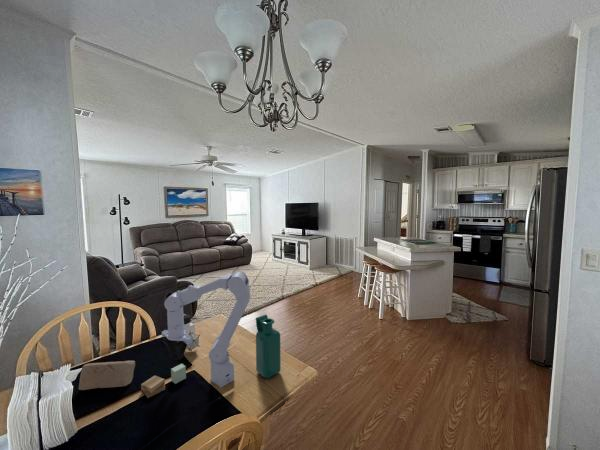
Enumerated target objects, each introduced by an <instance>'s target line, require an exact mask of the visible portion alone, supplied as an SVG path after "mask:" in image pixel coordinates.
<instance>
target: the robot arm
mask: <svg viewBox="0 0 600 450" xmlns="http://www.w3.org/2000/svg"><path fill="white" fill-rule="evenodd" d="M219 289H222V290H224V291H227V290H229V291H230V293H231V294H232V295H233V296H235V299H236V302H235V304H234V306H233V308H232V310H231V312H230V315H229V317H228V318H227V320H226V322H225V324H224V327H223V328H222V330H221V332H220V334H219V336H218V337H216V338H215V340H214V342H213V345H212V347H211V349H210V351H209V352H208V358H209V360H210V381H211V382H212V383H213V384H216V385H217V386H218V387H219V388H222V387H225V386H227V385H228V384H229V383H231V382H233V381H235V365H234V363H232V361H231V359H230V353H229V351H228V349H229V347H230V344H231V343H230V342H231V340H232V337H233V336H234V333H235V331H236V330H237V328H238V325H239V323H240V321H241V320H242V317H243V315H244V313H245V311H246V309H247V307H248V305H249V302H250V300H251V292H250V291H251V290H250V283H249V278H248V276H247V275H246V273H245V272H244V271H243V270H242V271H241V270H236V271H234V272H233V273H232V272H229V273H227V274H225V275H222V276H220V277H218V278H215V279H213V280H212V281H209V282H207V283H204V284H203V285H197V284H194V285H192V284H191V285H188V286H187V288H184V289H182V290H177V291H175V292H173V293H172V294H170V295H169V296H168V297H167V298H166V299H165V301H164V304H163V305H164V308H165V310H167V311H166V316H167V317H166V318H167V329H164V330H163V331H161V337H162V338H165V337H166V339H164V340H163V343H164V345H165V346H166V349H167V350H168V353H169V356H170V358H173V357H175V356H177V357H176V358H177V360H179V361H180V360H182V359H183V358H184V357H185V352H186V350H187V349H186V347H187V345H188V344H190V343H191V342H192V337H189V336H188V335H187V334H186V331H185V330H184V315H185V313H184V306H187V305H188V304H190V303H194V302H196V301H198V300H200V299H201V298H202V296H203V295H206V294H208V293H210V292H212V291H216V290H219Z"/></svg>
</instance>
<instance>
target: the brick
mask: <svg viewBox="0 0 600 450" xmlns="http://www.w3.org/2000/svg"><path fill="white" fill-rule="evenodd" d="M135 367H136V361H135V360H124V361H118V360H117V361H105V362H92V363H86V364H84V365H83V366H82V368H81V371H80V377H79V383H78V390H80V391H86V390H93V389H105V388H119V387H120V388H121V387H126V386H128V385H130V384H131V383H132V381H133V378H134V372H135Z"/></svg>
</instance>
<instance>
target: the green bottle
mask: <svg viewBox="0 0 600 450" xmlns="http://www.w3.org/2000/svg"><path fill="white" fill-rule="evenodd" d="M255 323H256V324H255V325H256V330H257V331H256V334H255V363H256V364H255V368H256V369H255V370H256V372H257V373H258V374H259V375H260V376H262V378H265V379H270V378H271V377H274V376H275V375H277V374H279V373H280V372H281V370H282V369H281V368H282V367H281V365H282V363H281V361H282V360H281V359H282V358H281V356H282V355H281V352H282V351H281V333H280V332H279V331H278V330H277V329H275V328H273V324H275V320H274V319H273V318H269V317H268V315H267V314H264V315H261V316H258V317H256V318H255Z"/></svg>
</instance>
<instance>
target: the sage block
mask: <svg viewBox="0 0 600 450" xmlns="http://www.w3.org/2000/svg"><path fill="white" fill-rule="evenodd" d="M186 368H187V367H186V365H184V363H180V364H178V365H176V366H174V367H173V368H170V373H171V374H170V379H171V382H172V383H174V384H175V385H176V384H178V383H180V382H181V381H184V380H186V379H187V369H186Z"/></svg>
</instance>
